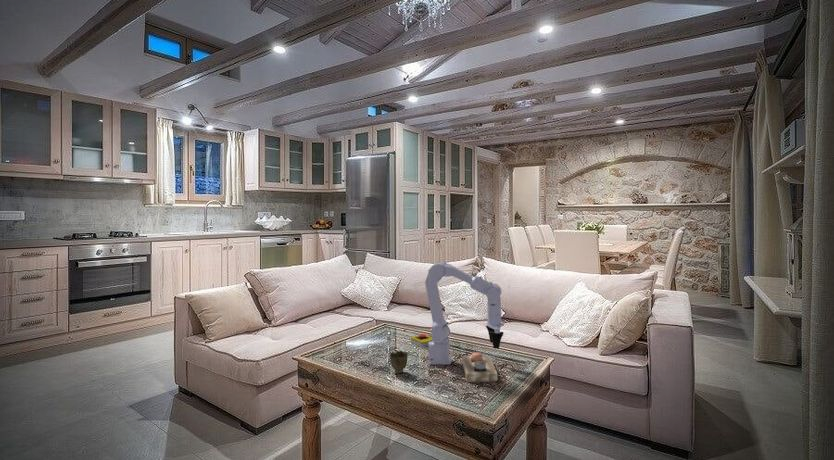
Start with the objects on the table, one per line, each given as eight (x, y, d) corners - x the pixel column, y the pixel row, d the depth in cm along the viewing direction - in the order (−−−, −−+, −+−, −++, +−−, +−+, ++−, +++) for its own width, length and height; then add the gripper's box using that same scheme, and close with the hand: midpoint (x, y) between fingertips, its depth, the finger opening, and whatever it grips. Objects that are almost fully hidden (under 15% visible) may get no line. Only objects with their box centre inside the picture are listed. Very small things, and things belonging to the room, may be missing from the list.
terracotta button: (472, 363, 167) (472, 356, 167) (471, 359, 172) (471, 352, 172) (483, 363, 167) (482, 356, 167) (481, 359, 172) (481, 352, 171)
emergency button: (422, 330, 212) (440, 337, 199) (422, 339, 212) (440, 346, 200) (407, 334, 206) (425, 341, 194) (408, 342, 206) (425, 350, 194)
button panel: (466, 381, 155) (466, 374, 155) (462, 362, 175) (462, 356, 175) (497, 381, 154) (497, 373, 154) (489, 362, 174) (489, 355, 174)
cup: (394, 377, 160) (394, 357, 160) (387, 371, 167) (386, 352, 167) (411, 373, 164) (410, 354, 164) (403, 367, 170) (402, 349, 170)
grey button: (475, 372, 157) (475, 364, 157) (474, 368, 162) (473, 360, 162) (486, 372, 157) (486, 364, 157) (484, 368, 162) (484, 360, 161)
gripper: (507, 317, 161) (507, 350, 162) (500, 309, 176) (500, 339, 176) (489, 317, 161) (490, 351, 162) (484, 309, 176) (484, 340, 176)
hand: (494, 345), depth 169 cm, fingers open, 7 cm apart
